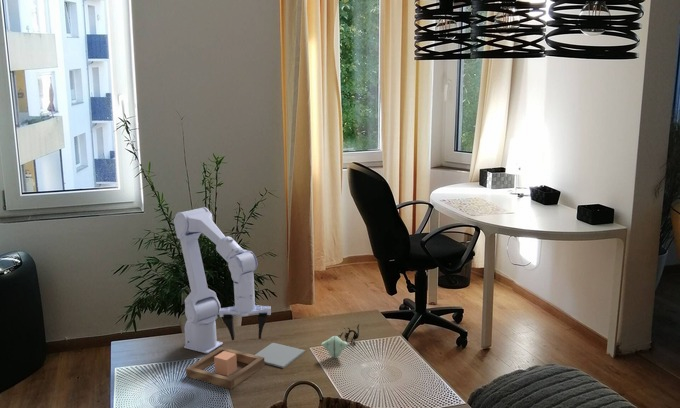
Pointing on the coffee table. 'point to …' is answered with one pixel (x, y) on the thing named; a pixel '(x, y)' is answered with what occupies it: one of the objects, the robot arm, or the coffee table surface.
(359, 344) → the coffee table surface
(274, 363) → the tile
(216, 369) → the terracotta block
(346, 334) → the creature
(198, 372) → the well frame
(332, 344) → the pale green pointed piece
